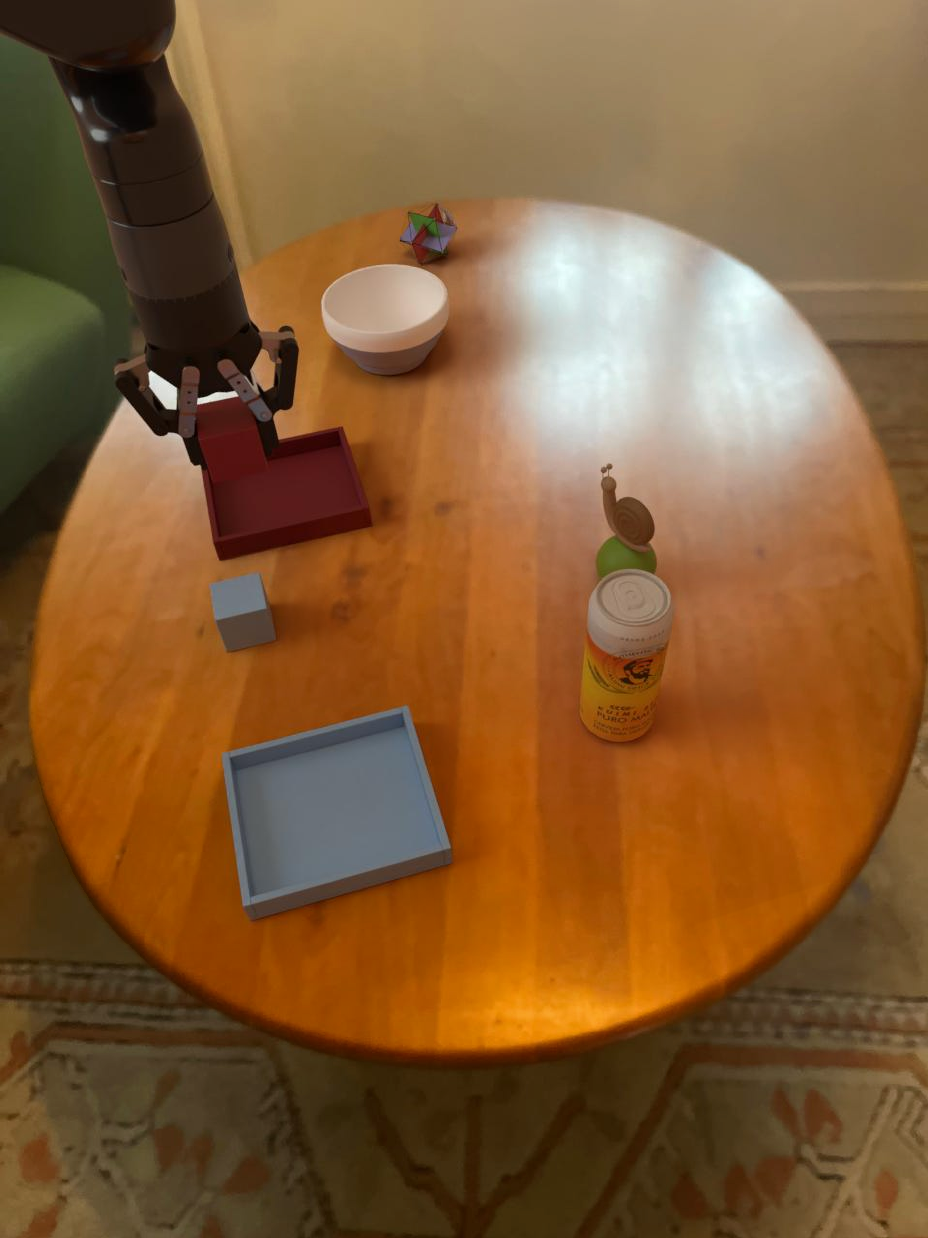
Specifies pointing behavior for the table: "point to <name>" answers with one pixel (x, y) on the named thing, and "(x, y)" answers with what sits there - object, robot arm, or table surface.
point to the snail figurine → (625, 533)
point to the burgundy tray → (289, 497)
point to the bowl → (386, 316)
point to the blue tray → (332, 812)
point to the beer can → (625, 653)
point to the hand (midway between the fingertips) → (236, 456)
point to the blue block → (242, 612)
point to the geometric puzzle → (429, 232)
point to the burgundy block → (230, 439)
